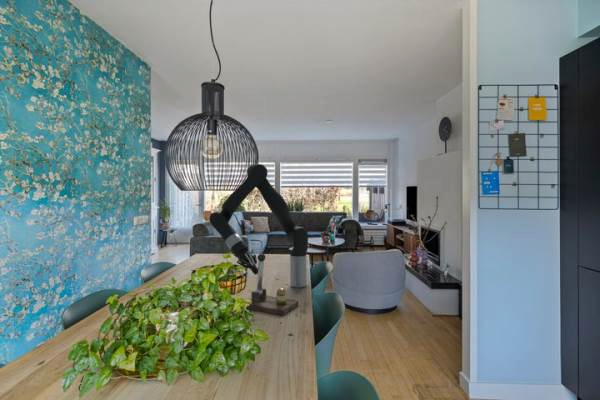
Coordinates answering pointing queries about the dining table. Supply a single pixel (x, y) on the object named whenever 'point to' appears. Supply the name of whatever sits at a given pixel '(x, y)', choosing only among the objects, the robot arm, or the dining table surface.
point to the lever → (260, 273)
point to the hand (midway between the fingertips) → (257, 273)
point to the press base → (270, 304)
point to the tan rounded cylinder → (281, 297)
